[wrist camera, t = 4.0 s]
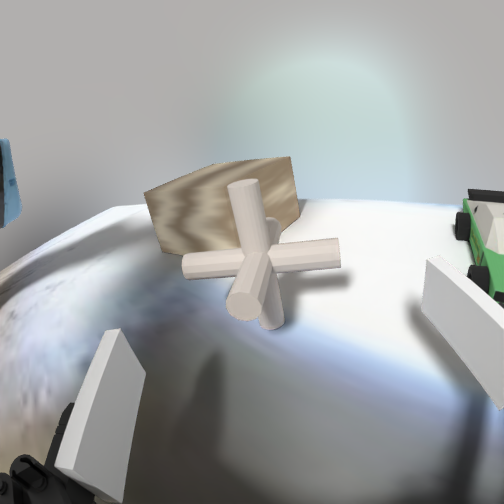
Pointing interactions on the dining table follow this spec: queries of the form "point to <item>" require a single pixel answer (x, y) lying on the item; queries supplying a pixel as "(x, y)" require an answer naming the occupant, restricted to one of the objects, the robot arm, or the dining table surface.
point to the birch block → (218, 204)
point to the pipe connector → (258, 259)
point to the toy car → (484, 239)
